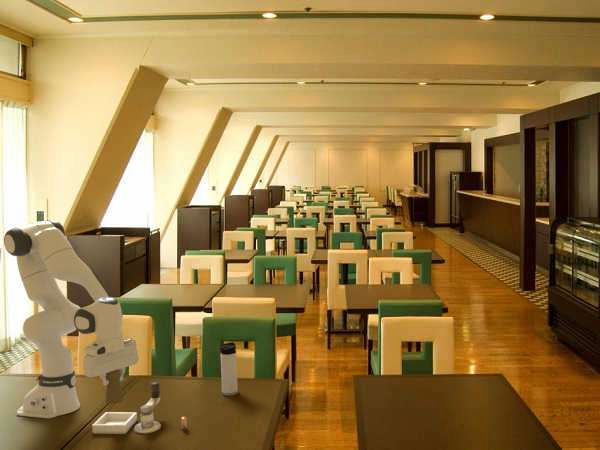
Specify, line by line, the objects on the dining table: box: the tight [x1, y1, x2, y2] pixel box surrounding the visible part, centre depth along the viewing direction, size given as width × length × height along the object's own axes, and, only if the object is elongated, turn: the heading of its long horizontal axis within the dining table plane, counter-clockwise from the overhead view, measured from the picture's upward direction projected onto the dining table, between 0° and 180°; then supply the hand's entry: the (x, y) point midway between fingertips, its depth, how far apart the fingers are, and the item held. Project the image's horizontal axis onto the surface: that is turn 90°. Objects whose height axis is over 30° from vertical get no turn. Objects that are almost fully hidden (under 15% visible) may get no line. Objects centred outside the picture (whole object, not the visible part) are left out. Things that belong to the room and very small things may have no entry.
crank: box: [140, 381, 161, 415], centre depth 226 cm, size 14×4×7 cm, turn 174°
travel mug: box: [219, 341, 239, 397], centre depth 254 cm, size 6×7×20 cm
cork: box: [105, 369, 125, 405], centre depth 222 cm, size 6×6×11 cm
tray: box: [91, 411, 138, 435], centre depth 224 cm, size 12×12×3 cm
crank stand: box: [133, 411, 188, 435], centre depth 221 cm, size 18×9×5 cm, turn 84°
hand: (113, 382), depth 223 cm, fingers closed on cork, 4 cm apart
